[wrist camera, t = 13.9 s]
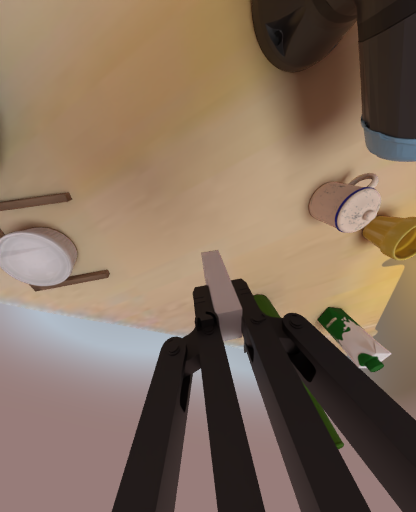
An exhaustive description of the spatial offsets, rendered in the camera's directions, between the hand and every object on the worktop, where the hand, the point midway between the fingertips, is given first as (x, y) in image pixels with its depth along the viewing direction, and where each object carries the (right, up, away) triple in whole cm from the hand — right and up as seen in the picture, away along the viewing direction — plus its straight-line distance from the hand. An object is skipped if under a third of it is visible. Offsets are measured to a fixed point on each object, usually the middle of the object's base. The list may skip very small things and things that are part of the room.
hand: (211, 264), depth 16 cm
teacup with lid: (+28, +15, +26) cm, 41 cm away
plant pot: (+46, +9, +34) cm, 58 cm away
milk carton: (+47, -22, +52) cm, 74 cm away
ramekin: (-32, +2, +20) cm, 38 cm away
